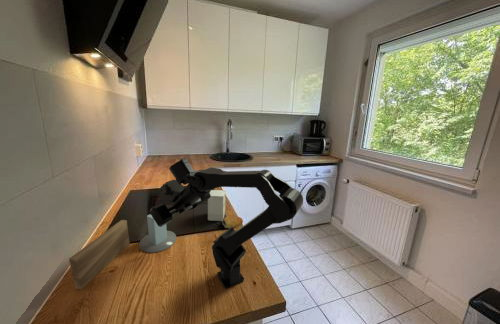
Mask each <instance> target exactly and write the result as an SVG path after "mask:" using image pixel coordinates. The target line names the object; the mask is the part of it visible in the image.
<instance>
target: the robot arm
mask: <svg viewBox="0 0 500 324" xmlns="http://www.w3.org/2000/svg"><path fill="white" fill-rule="evenodd" d="M168 169H169V171H170V173H171V175H172V176H173V177H174V179H171V180H168V181H166V182H165V183H163V184H162V185H161V186H160V188H159V192H160V193H161V194H162V195H163V196H164V197H166V196H168V197H169V199H168V200H169V202H170V203H172V206H171V207H169V208H168V207H167V205H166V204H165V203H163V202H161V203H159V204H157V205H154V206H152V207H151V208H150V210H149V215H150V214H151V215H152V217H153V219H154V220H155V222H156V223H157V225H158V226H159V227H162V226H163V225H165V224H166V225H167V224H169V223H170V222H171V221H173V216H174V215H175V214H177V213H178V214H180V215H182V214H183V213H185V212H187V211H190V210H194V209H195V208H198V207H200V206H201V205H202V204H203V203H204V202H205V201H206V200H207V201H208V199H209V198H210V197H211V196H210V191H211V190H215V189H218V188H248V189H249V188H253V189H256V190H258V192H259V193H260V194H261V195H260V196H262V199H263V200H264V202H265V204H266V205H267V207H266V208H265V210H263V211H262V212H260V213H259V214H258V215H256V216H255V217H254V218H252V219H250V220H249V221H248V222H247V223H245V224H244V225H241V226H240V228H238V229H236V230H235V229H234V228H233V227H231V228H230V229H228V230H225V231H224V232H223V233H222V234H220V235H219V236H218V237H217V238H216V239H214V240H213V241H212V243H213V244H212V246H211V250H212V256H213V259H214V262H215V265H216V267H217V268H218V269H219V270H220V271H218V272H217V273H216V274H217V277H218V278H219V280H220V282H221V284H222V286H223V288H224V289H229V288H231V287H233V286H235V285H237V284H240V283H242V282H244V281H245V278H244V277H243V275H242V274H241V259H242V258H243V257H244V256H245V254H246V253H247V250H246V248H245V247H244V246H243V244H244V243H246V242H247V241H249V240H251V239H252V238H253V237H255V236H256V235H258V234H260V233H261V232H262V231H264V230H266V229H268V228H269V227H270V226H271V225H274V224H275V225H276V224H282V223H285V222H288V221H290V220H292V219H293V218H294V217H295V216H296V215H297V214H298V212H299V210H300V209H301V208H302V206H303V204H304V197H303V194H302V193H301V192H300V191H299V190H298V189H296V188H293V187H292V186H291V185H290V184H289V183H287V181H285V180H283V179H281V178H279V177H278V176H276V175H275V174H274V173H273V172H272V171H270V170H268V169H262V170H240V171H239V170H235V171H234V170H229V171H227V170H223V169H221V168H217V167H208V168H205V169H198V170H195V169H194V168H193V167H192V165H191V163H190V162H189V160H188V159H187V158H186V157H185V158H181V159H180V160H178V161H177V162H175V163H173V164H172V165H170V167H169V168H168ZM184 185H185V186H184ZM276 192H277V193H276ZM278 193H279V194H278Z"/></svg>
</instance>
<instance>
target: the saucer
mask: <svg viewBox="0 0 500 324" xmlns="http://www.w3.org/2000/svg"><path fill="white" fill-rule="evenodd" d="M176 241H177V235H176V233H175V232H174V231H171V230H167V239H165V240H164V241H162V242H161V243H159V244H158V245H155V244H153V243H151V242H149V234H146V235H145V236H143V237H142V238H141V239H140V241H139V244H138V245H139V249H140V250H141V251H142V252H144V253H149V254H153V253H154V254H155V253H160V252H163V251H166V250H168V249H170V248H171V247H172V246H173V245H174V244H175V243H176Z"/></svg>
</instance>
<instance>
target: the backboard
mask: <svg viewBox="0 0 500 324" xmlns="http://www.w3.org/2000/svg"><path fill="white" fill-rule="evenodd" d="M128 228H129V227H128V221H127V219H126V220H125V219H121V220H120V221H118V222H117V223H115V224H113V225H112V226H111V227H110V228H109V229H107V230H106V231H104V232H103V233H101V234H100V235H99V236H98V237H97V238H94V239H93V240H92V241H90V242H89V243H88V244H87V245H86V246H84V247H83V248H82V249H80V250H79V251H77V252H76V253H74V254H73V255H72V256H71V257H69V258H68V261H69V264H70V265H69V266H70V269H71V275H72V279H73V285H74V288H75V290H83V289H84V288H85V287H86V286H87V285H88V284H89V283H91V281H92V280H93V279H95V277H97V276H98V275H99V274H100V273H101V272H102V271H103V270H104V269H105V268H106V267H107V266H108V265H109V264H111V262H112V261H113V260H115V258H116V257H117V256H119V255H120V254H121V253H122V252H123V250H125V249H126V248H127V247H128V246H129V245H130V237H129V229H128Z"/></svg>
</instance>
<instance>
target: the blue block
mask: <svg viewBox="0 0 500 324" xmlns="http://www.w3.org/2000/svg"><path fill="white" fill-rule="evenodd" d="M146 221H147V233H148V234H149V242H151V243H153V244H155V245H158V244H159V243H161V242H162V241H164V240H165V239H167V224H165V225H163V226H162V227H159V226H158V225H157V223H156V222H155V220H154V219H153V217H152V215H151V214H150V213H149V214H148V215H146ZM148 234H147V235H148Z"/></svg>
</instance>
